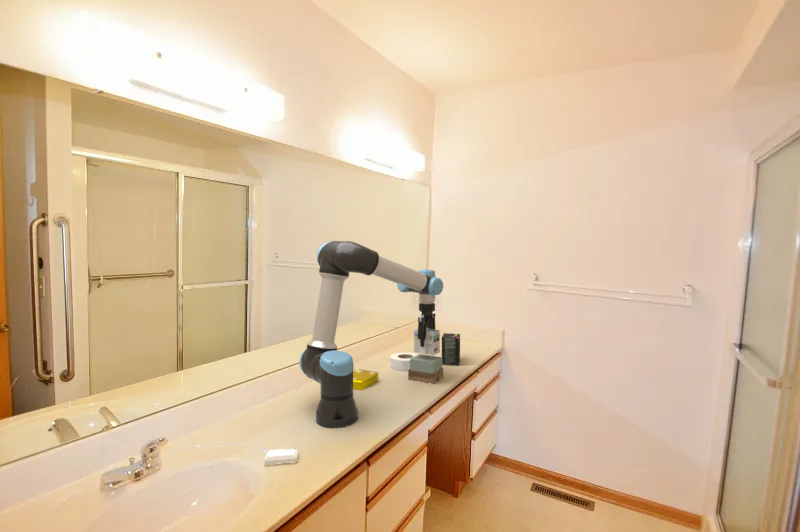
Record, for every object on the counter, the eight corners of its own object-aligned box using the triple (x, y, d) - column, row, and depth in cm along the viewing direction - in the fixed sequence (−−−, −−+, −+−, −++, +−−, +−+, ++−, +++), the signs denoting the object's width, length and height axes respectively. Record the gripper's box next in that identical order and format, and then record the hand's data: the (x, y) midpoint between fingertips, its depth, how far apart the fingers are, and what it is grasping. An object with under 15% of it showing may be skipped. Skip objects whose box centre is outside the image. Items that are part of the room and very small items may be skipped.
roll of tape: (398, 360, 219) (398, 350, 219) (425, 364, 212) (425, 354, 212) (384, 368, 205) (384, 357, 205) (413, 373, 198) (413, 362, 198)
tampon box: (459, 366, 209) (459, 338, 208) (441, 365, 211) (441, 337, 210) (460, 360, 220) (460, 333, 219) (443, 359, 222) (443, 332, 221)
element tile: (333, 386, 181) (333, 375, 180) (353, 376, 194) (353, 366, 194) (361, 391, 174) (361, 381, 173) (379, 381, 187) (379, 371, 187)
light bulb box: (440, 352, 190) (440, 329, 189) (433, 355, 184) (433, 332, 183) (420, 349, 195) (420, 327, 195) (413, 352, 190) (413, 329, 189)
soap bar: (267, 458, 120) (267, 449, 120) (298, 455, 121) (298, 446, 121) (264, 467, 115) (264, 458, 115) (296, 464, 117) (296, 455, 116)
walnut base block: (434, 385, 182) (434, 374, 182) (408, 380, 188) (408, 369, 188) (443, 378, 192) (443, 367, 191) (418, 373, 198) (418, 363, 197)
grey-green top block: (433, 373, 182) (433, 362, 182) (409, 369, 188) (410, 359, 188) (442, 367, 191) (442, 357, 191) (419, 364, 197) (419, 353, 196)
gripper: (424, 306, 178) (424, 357, 179) (443, 300, 195) (442, 347, 196) (409, 304, 182) (409, 355, 183) (429, 299, 199) (428, 345, 200)
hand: (426, 351), depth 190 cm, fingers closed on light bulb box, 7 cm apart
